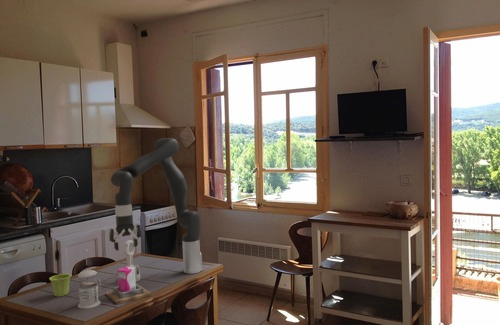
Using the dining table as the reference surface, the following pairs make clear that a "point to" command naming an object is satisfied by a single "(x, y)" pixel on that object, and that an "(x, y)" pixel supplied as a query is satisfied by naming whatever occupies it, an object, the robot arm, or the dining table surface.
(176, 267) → the dining table surface
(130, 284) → the supplement box
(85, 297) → the french press
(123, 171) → the robot arm
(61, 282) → the plant pot
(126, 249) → the engine component
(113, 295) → the wooden board with frame
